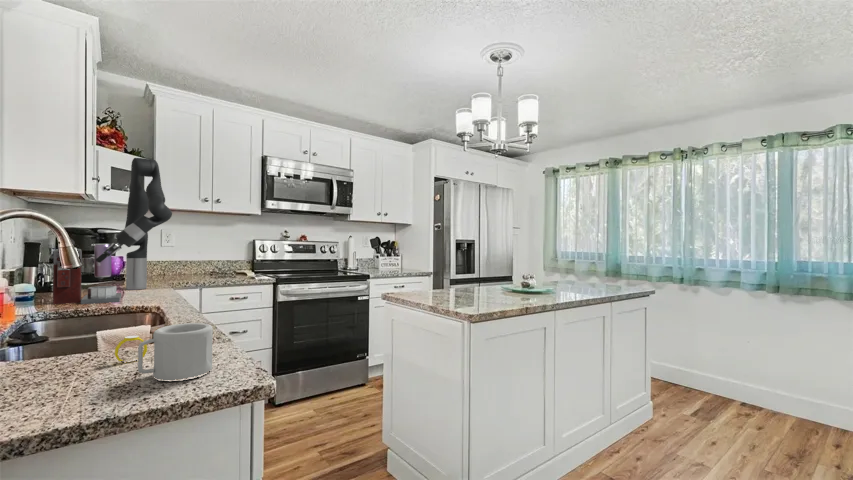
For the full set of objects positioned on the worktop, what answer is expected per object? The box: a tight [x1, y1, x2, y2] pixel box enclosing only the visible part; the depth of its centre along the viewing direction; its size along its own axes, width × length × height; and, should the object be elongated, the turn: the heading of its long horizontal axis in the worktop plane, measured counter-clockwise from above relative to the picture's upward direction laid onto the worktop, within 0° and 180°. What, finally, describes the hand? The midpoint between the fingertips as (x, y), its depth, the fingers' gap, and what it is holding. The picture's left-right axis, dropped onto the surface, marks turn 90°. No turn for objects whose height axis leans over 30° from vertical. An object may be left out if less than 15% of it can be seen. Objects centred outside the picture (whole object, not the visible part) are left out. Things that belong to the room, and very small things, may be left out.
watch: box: [114, 335, 148, 362], centre depth 92 cm, size 6×3×6 cm, turn 139°
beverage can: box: [93, 243, 112, 278], centre depth 179 cm, size 6×6×15 cm
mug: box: [137, 322, 214, 380], centre depth 83 cm, size 14×11×10 cm
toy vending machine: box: [52, 238, 83, 305], centre depth 172 cm, size 9×11×28 cm
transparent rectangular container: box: [80, 285, 122, 305], centre depth 179 cm, size 18×13×6 cm
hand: (98, 260), depth 178 cm, fingers closed on beverage can, 6 cm apart
